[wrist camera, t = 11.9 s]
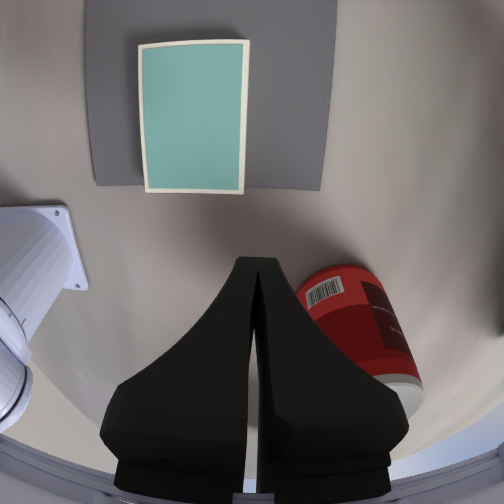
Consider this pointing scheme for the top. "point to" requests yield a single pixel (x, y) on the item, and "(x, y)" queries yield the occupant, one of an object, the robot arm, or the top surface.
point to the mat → (259, 81)
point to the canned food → (364, 327)
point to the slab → (194, 115)
